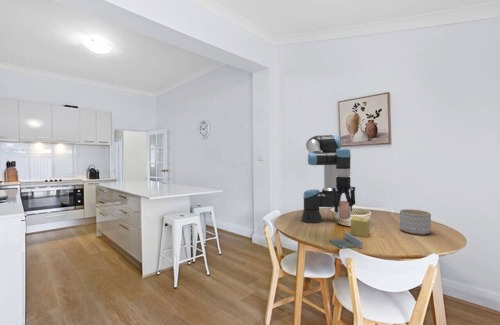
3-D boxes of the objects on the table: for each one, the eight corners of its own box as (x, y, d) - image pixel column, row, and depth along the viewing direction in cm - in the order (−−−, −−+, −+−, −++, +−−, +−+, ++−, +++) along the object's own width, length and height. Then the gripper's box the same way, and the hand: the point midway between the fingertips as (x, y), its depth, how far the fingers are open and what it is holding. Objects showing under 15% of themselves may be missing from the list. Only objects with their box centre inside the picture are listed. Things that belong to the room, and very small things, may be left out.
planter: (436, 236, 147) (436, 215, 146) (406, 235, 150) (406, 214, 150) (422, 228, 163) (422, 209, 162) (395, 227, 166) (395, 208, 166)
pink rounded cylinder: (335, 216, 138) (335, 201, 138) (345, 216, 139) (345, 200, 139) (340, 219, 132) (341, 203, 132) (351, 219, 133) (351, 202, 133)
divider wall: (344, 238, 145) (344, 231, 145) (345, 238, 145) (345, 231, 145) (360, 248, 129) (360, 241, 129) (362, 248, 129) (362, 241, 129)
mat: (329, 240, 141) (329, 239, 141) (343, 239, 143) (343, 238, 143) (340, 248, 129) (340, 247, 129) (355, 247, 131) (355, 246, 131)
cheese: (369, 233, 155) (369, 217, 154) (368, 238, 145) (368, 221, 145) (352, 230, 160) (352, 215, 160) (349, 235, 151) (349, 219, 151)
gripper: (330, 177, 130) (330, 220, 130) (362, 176, 133) (362, 218, 134) (324, 176, 137) (324, 216, 138) (354, 175, 140) (354, 215, 141)
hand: (343, 217), depth 136 cm, fingers closed on pink rounded cylinder, 6 cm apart
